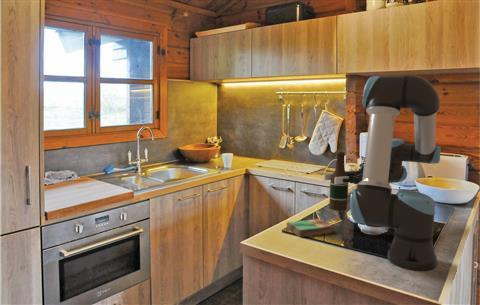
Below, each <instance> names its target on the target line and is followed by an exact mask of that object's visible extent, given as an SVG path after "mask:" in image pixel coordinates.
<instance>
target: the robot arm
mask: <svg viewBox="0 0 480 305" xmlns="http://www.w3.org/2000/svg"><path fill="white" fill-rule="evenodd" d="M440 101H441V100H440V96H439V93H438V92H437V90H436V88H435V86H434V85H433V84H432V83H431V82H429V80H427V79H425V78H423V77H421V76H418V75H415V74H414V75H413V74H409V75H408V74H407V75H383V74H381V75H373V76H370V77H369V78H368V79H367V81H366V82H365V85H364V88H363V92H362V101H361V102H362V106H363V108H365V109H366V110H365V112H366V113H367V114H368V116H369V118H368V119H369V120H368V127H367V128H368V130H367V137H366V138H367V139H366V146H365V155H364V162H363V163H364V164H363V170H362V171H361V170H358V171H355V170H350V171H349V170H348V171H346V170H345V172H346V174H347V176H345V177H335V183H334V184H344V183H348V184H349V183H350V184H354V185H356V188H354V189H352V190H351V192H350V199H349V207H350V215H351V218H352V219H353V221H354V222H355V223H358V224H362V225H363V224H364V225H368V226H374V227H381V228H388V229H393V230H394V237H393V239H392V242H391V244H390V246H389V248H388V250H387V260H388V261H389V262H390V263H392V264H393V265H396V266H399V267H400V268H404V269H408V270H414V271H430V270H433V269H436V267H437V264H438V262H437V261H438V260H437V255H436V252H435V247H434V244H433V237H434V224H435V222H434V221H435V216H436V203H435V200H434V199H433V197H431V196H429V195H427V194H425V193H422V192H419V191H415V190H408V189H407V190H406V189H400V190H398V191H397V193H392V191H393V188H392V187H391V186H390V184H397V183H401V182H404V181H405V180H406V179H407V177H408V171H407V168H406V166H404V165H403V162H410V163H411V162H412V163H420V164H421V163H423V164H439V163H440V160H441V152H442V149H441V146H438V145H436V135H437V130H436V128H437V113H438V111H439V110H440V105H441V102H440ZM401 109H410V111H411V113H412V114H413V122H414V123H413V125H414V126H413V129H414V144H412V143H404V139H402V138H401V139H400V138H393V137H394V129H395V119H396V117H398V116H399V115H400V114H401ZM333 173H334V172H331V173H328V172H327V173H323V181H331V177H332V174H333Z"/></svg>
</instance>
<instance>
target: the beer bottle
mask: <svg viewBox="0 0 480 305" xmlns="http://www.w3.org/2000/svg"><path fill="white" fill-rule="evenodd" d="M335 155H336V161H335V169H334V171H333V172H332V173H333V174H332V177H331V180H329V181H330V184H329V204H328V205H329V209H330V210H333V211H337V212H338V211H340V212H341V211H347V210H348V201H349V200H348V198H349V196H348V195H349V183H344V184H334V183H335V177H345V176H347V174H346V172H345V171H346V169H345V168H346V167H345V156H346V153H345V151H337V152H336V154H335Z"/></svg>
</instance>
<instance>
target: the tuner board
mask: <svg viewBox="0 0 480 305" xmlns="http://www.w3.org/2000/svg"><path fill="white" fill-rule="evenodd" d="M286 229H287V230H288V231H290V232H291V233H293V234H295V235H296V236H298V237H299V238H304V237H309V236H319V235H324V234H325V235H326V234H331V233H332V234H333V226H332V225H331V224H329V223H327V222H325V221H323V220H321V219H319V218H313V219H305V220H298V221H297V220H295V221H290V222H286Z"/></svg>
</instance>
